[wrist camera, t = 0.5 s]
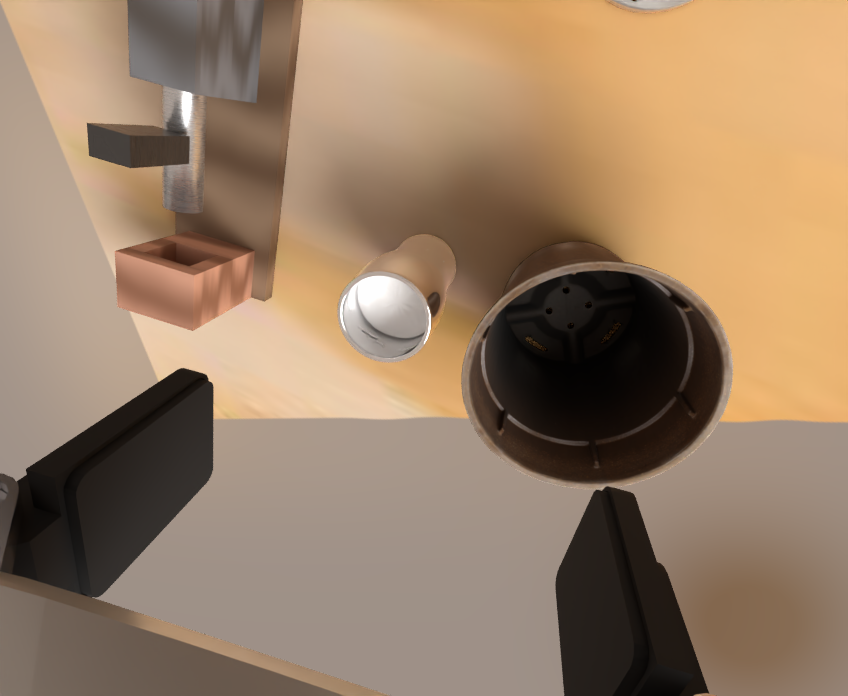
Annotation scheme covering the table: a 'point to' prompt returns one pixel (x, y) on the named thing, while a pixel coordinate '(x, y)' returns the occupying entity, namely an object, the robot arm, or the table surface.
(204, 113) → the tube
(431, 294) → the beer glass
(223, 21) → the tube rig
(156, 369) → the table surface
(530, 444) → the plant pot
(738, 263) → the table surface
